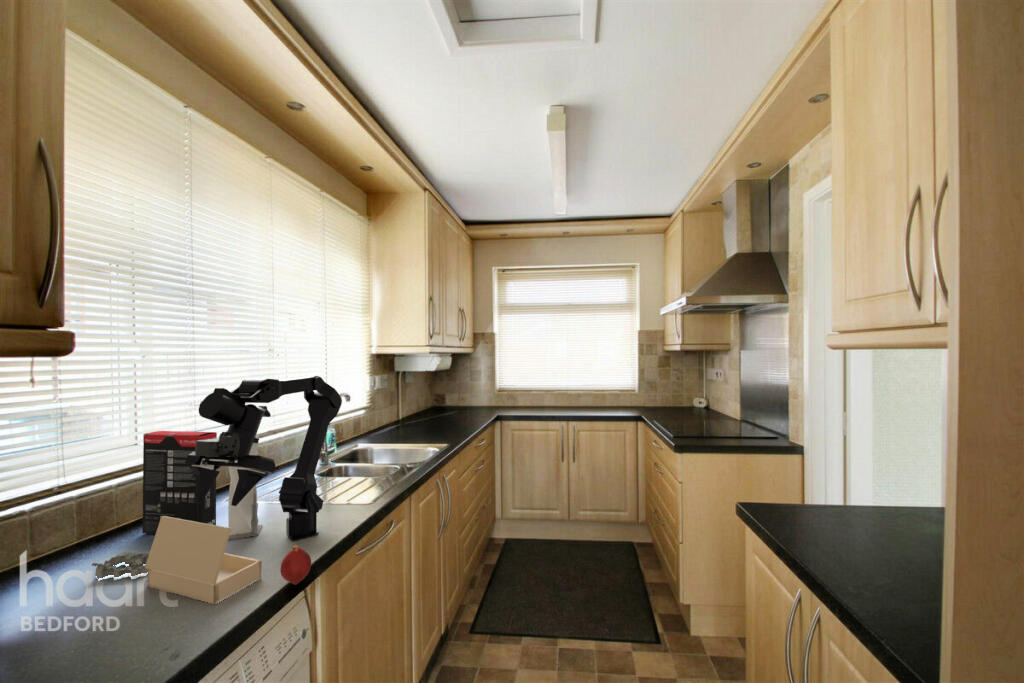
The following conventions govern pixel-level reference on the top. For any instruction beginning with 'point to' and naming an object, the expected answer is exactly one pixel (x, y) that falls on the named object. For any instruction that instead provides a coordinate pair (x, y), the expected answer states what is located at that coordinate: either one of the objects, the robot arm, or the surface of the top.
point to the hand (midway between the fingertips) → (215, 504)
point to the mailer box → (230, 581)
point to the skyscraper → (243, 506)
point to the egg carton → (129, 558)
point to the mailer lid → (188, 549)
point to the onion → (295, 565)
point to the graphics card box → (173, 480)
